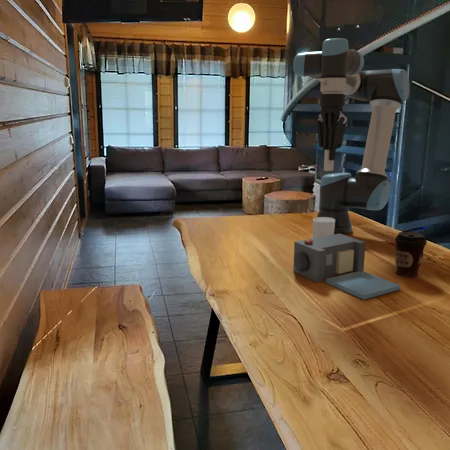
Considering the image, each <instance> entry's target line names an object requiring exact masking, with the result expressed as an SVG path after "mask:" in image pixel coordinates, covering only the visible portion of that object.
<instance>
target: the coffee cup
mask: <svg viewBox="0 0 450 450" xmlns="http://www.w3.org/2000/svg"><path fill="white" fill-rule="evenodd" d="M425 237H426V236H425V235H424V234H422V233H421V232H414V231H413V232H412V231H411V232H410V231H409V232H408V231H400V232H398V233H397V236H396V237H395V238H394V241H395V266H396V270H395V274H396V275H397V276H399V277H403V278H407V279H414V278H418V277H419V273H418V272H419V269H420V266H421V265H422V262H423V257H424V251H425V247H426V245H427V243H428V241H427V240H426V238H425Z"/></svg>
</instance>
